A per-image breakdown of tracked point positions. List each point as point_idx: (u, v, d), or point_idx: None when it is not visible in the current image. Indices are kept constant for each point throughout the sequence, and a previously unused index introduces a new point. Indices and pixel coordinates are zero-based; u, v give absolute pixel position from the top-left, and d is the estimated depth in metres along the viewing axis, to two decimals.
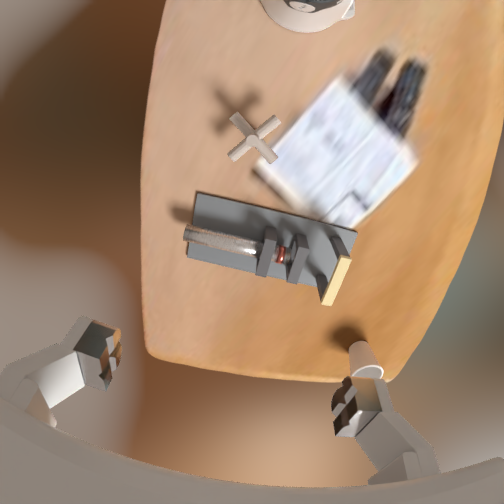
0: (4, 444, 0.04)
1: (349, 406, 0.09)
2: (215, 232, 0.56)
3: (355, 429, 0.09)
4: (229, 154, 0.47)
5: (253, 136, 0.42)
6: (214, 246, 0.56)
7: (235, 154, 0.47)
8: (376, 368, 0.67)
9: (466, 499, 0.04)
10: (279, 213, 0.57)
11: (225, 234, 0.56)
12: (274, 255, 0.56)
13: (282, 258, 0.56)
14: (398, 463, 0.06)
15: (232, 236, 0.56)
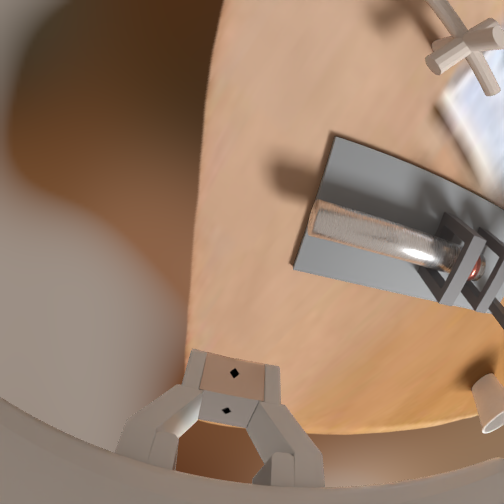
0: (4, 444, 0.04)
1: None
2: (378, 219, 0.25)
3: (240, 418, 0.08)
4: (435, 57, 0.16)
5: (501, 30, 0.11)
6: (376, 249, 0.25)
7: (446, 60, 0.16)
8: None
9: (466, 499, 0.04)
10: (466, 191, 0.26)
11: (395, 224, 0.25)
12: None
13: (476, 271, 0.25)
14: (268, 464, 0.06)
15: (407, 229, 0.25)
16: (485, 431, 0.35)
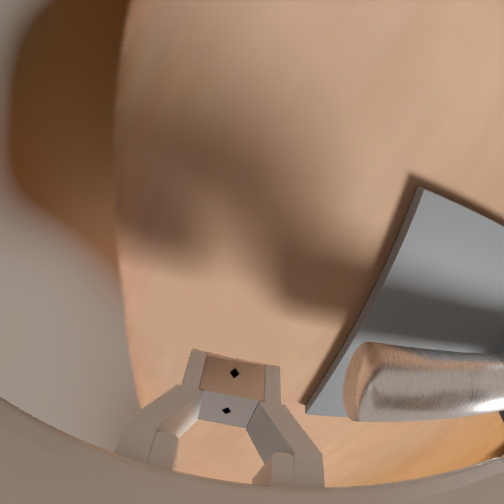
0: (4, 444, 0.04)
1: None
2: (479, 367, 0.10)
3: (241, 418, 0.08)
4: None
5: None
6: (462, 416, 0.10)
7: None
8: None
9: (466, 499, 0.04)
10: None
11: (500, 366, 0.10)
12: None
13: None
14: (268, 464, 0.06)
15: None
16: None
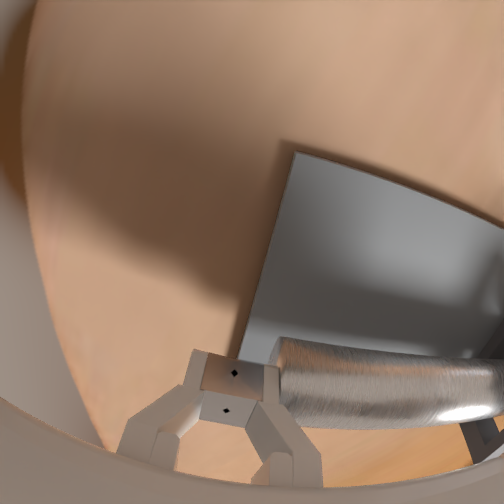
0: (4, 444, 0.04)
1: None
2: (426, 372, 0.09)
3: (239, 418, 0.08)
4: None
5: None
6: (408, 427, 0.09)
7: None
8: None
9: (466, 499, 0.04)
10: None
11: (457, 371, 0.09)
12: None
13: None
14: (267, 464, 0.06)
15: (476, 374, 0.09)
16: None
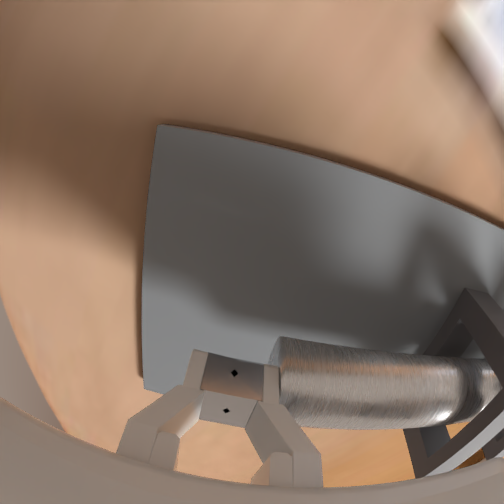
0: (4, 444, 0.04)
1: None
2: (426, 372, 0.09)
3: (239, 418, 0.08)
4: None
5: None
6: (408, 427, 0.09)
7: None
8: None
9: (466, 499, 0.04)
10: None
11: (457, 371, 0.09)
12: None
13: None
14: (267, 464, 0.06)
15: (476, 374, 0.09)
16: None
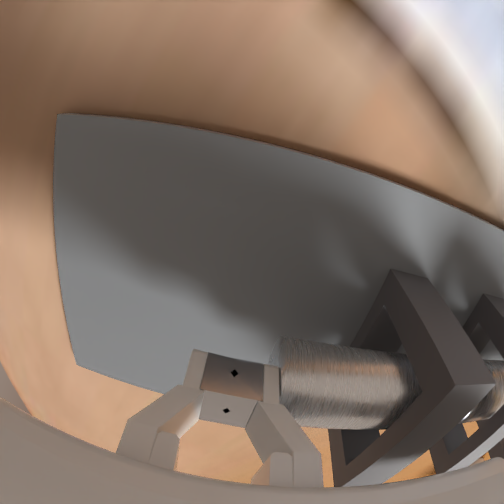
0: (4, 444, 0.04)
1: None
2: None
3: (239, 418, 0.08)
4: None
5: None
6: None
7: None
8: None
9: (466, 499, 0.04)
10: (454, 212, 0.10)
11: None
12: None
13: None
14: (267, 464, 0.06)
15: None
16: None
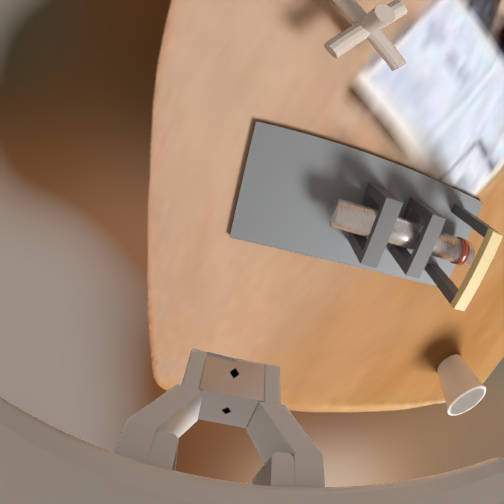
0: (4, 444, 0.04)
1: None
2: None
3: (241, 418, 0.08)
4: (330, 43, 0.22)
5: (386, 7, 0.16)
6: None
7: (341, 44, 0.22)
8: None
9: (466, 499, 0.04)
10: (390, 162, 0.31)
11: (398, 217, 0.31)
12: (458, 252, 0.31)
13: (466, 256, 0.31)
14: (268, 464, 0.06)
15: (408, 221, 0.31)
16: (451, 413, 0.40)
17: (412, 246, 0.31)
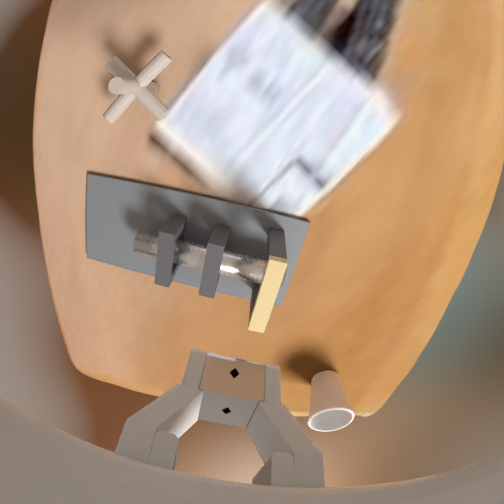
0: (4, 444, 0.04)
1: None
2: (177, 241, 0.38)
3: (240, 418, 0.08)
4: (104, 114, 0.29)
5: (117, 78, 0.24)
6: (175, 261, 0.38)
7: (111, 112, 0.29)
8: None
9: (466, 499, 0.04)
10: (189, 195, 0.39)
11: (191, 244, 0.38)
12: (261, 275, 0.38)
13: None
14: (268, 464, 0.06)
15: (201, 247, 0.38)
16: (316, 429, 0.47)
17: None
